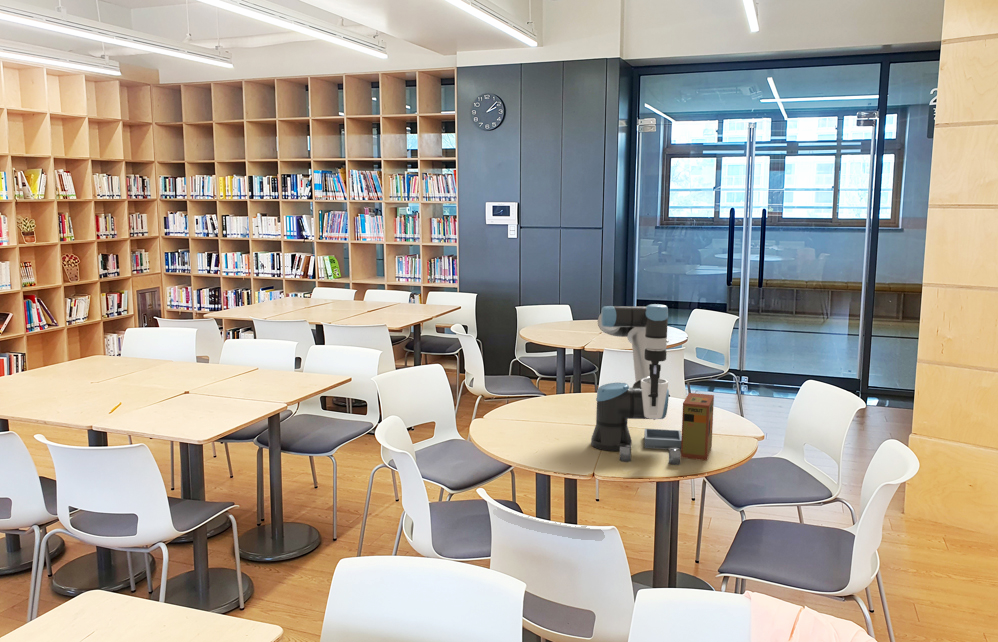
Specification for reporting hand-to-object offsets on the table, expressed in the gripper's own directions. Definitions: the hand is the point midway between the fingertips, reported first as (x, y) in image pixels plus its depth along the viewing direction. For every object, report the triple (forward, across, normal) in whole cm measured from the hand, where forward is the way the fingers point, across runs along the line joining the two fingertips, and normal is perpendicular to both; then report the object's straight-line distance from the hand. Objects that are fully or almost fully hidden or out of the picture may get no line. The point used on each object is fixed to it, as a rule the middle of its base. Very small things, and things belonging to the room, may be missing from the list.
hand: (653, 410), depth 266 cm
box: (+18, +10, -16) cm, 26 cm away
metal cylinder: (+17, -5, +9) cm, 20 cm away
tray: (+18, +18, -4) cm, 25 cm away
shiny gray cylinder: (+17, -5, -8) cm, 20 cm away
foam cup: (+2, 0, 0) cm, 2 cm away
